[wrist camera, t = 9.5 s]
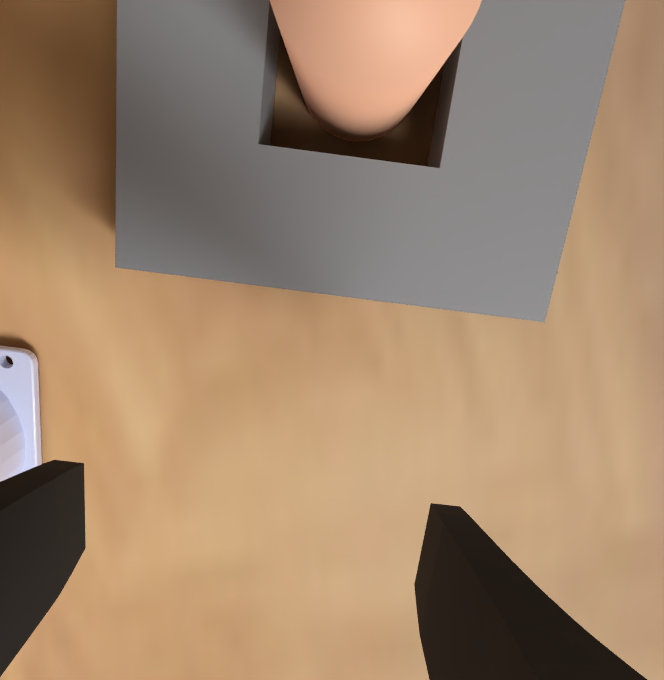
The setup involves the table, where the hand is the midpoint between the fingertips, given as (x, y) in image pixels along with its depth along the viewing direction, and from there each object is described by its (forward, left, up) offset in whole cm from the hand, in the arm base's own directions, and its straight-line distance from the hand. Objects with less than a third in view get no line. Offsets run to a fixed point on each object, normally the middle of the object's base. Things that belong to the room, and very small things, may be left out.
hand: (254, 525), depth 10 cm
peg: (+1, +11, -9) cm, 14 cm away
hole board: (+1, +11, -9) cm, 14 cm away
